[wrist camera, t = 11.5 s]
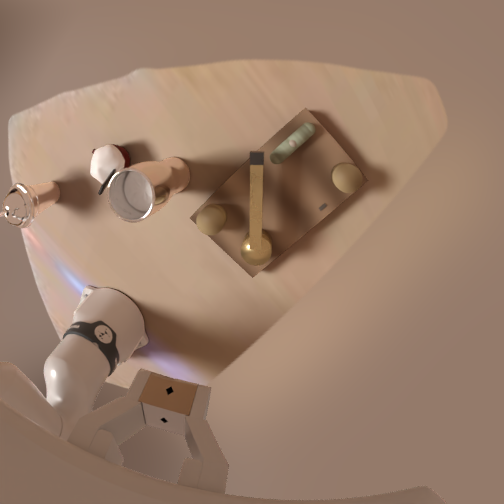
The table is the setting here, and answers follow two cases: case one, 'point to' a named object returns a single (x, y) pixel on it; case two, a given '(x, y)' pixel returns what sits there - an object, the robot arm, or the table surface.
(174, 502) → the robot arm
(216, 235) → the levelling base
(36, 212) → the cup with straw
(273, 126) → the table surface
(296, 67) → the table surface
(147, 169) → the beer glass
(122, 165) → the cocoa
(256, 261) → the lever handle
